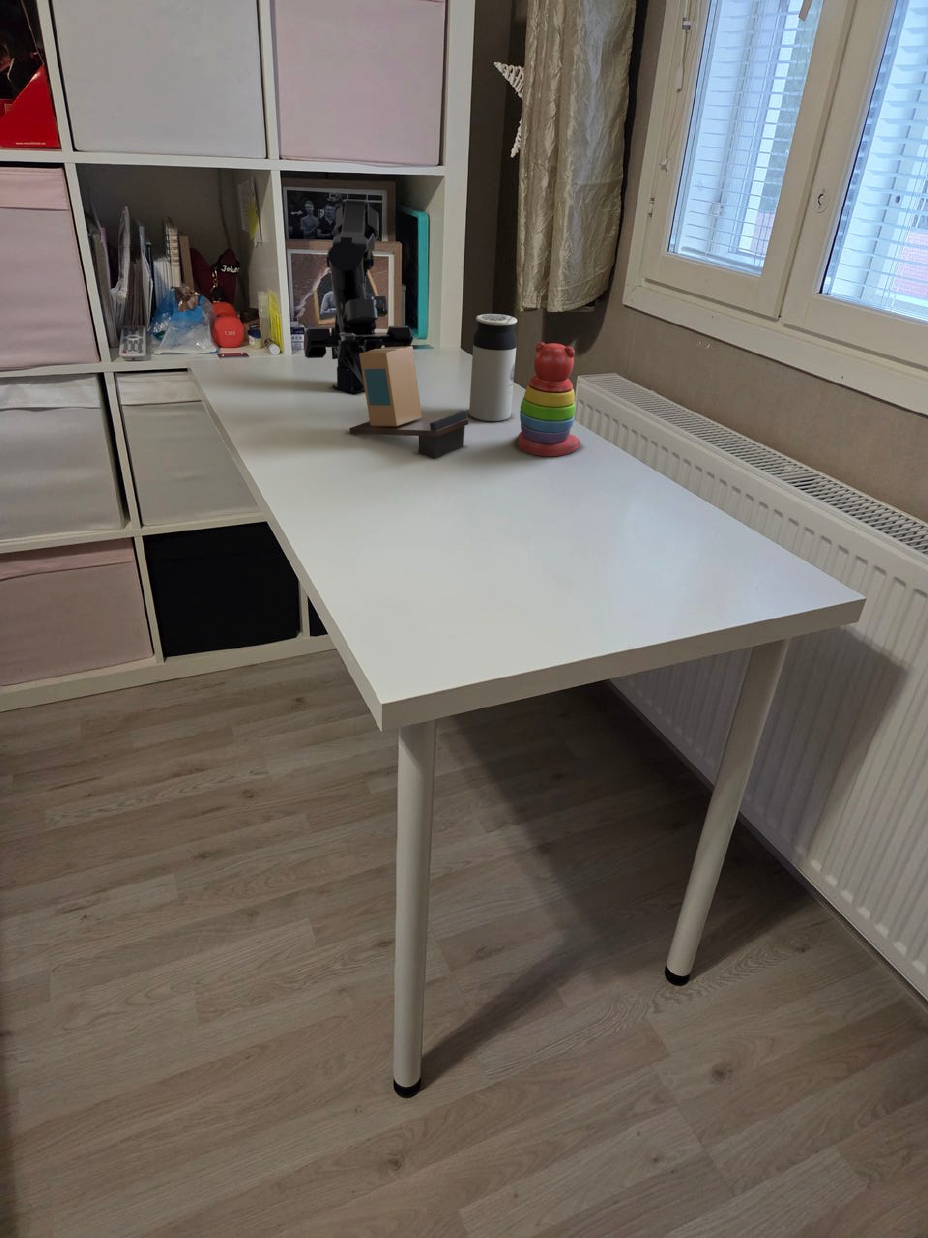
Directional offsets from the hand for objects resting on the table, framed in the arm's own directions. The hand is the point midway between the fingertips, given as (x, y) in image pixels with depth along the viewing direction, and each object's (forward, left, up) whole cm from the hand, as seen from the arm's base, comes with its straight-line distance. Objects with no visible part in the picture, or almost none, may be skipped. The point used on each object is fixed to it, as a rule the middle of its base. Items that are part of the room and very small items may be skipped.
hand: (366, 384), depth 148 cm
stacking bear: (-14, +29, -8) cm, 33 cm away
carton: (0, +5, -6) cm, 8 cm away
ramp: (0, +9, -8) cm, 12 cm away
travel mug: (-22, +12, -8) cm, 26 cm away
